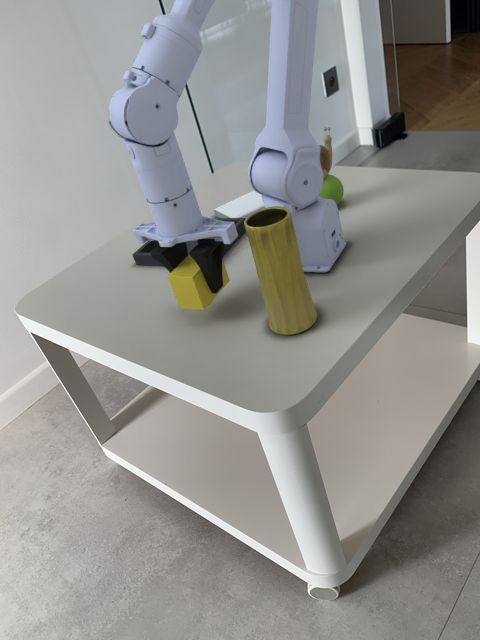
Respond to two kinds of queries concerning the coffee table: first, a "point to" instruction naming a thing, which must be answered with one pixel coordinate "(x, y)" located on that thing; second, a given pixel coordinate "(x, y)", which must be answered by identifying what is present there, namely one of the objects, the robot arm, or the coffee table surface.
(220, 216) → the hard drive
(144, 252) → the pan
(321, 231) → the robot arm
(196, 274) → the sponge
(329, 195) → the snail figurine
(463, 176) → the coffee table surface
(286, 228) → the vase
